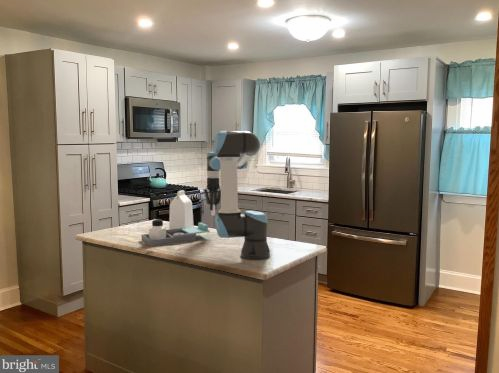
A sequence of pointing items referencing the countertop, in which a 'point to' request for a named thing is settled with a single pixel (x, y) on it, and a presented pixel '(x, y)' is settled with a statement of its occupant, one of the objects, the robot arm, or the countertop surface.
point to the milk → (181, 212)
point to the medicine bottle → (157, 230)
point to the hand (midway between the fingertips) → (213, 215)
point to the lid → (197, 229)
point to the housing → (170, 237)
